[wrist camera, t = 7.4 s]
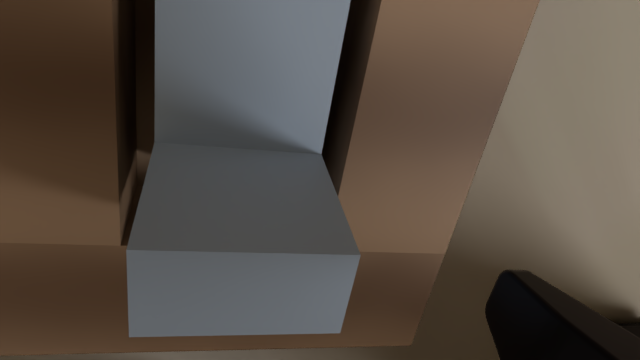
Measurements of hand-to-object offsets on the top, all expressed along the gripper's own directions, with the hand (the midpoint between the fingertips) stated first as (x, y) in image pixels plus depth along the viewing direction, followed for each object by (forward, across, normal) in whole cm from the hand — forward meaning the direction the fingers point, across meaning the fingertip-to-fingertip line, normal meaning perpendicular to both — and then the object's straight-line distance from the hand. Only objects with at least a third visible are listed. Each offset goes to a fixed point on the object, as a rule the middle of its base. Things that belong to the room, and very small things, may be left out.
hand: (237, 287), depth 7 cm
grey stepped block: (+8, 0, -1) cm, 8 cm away
